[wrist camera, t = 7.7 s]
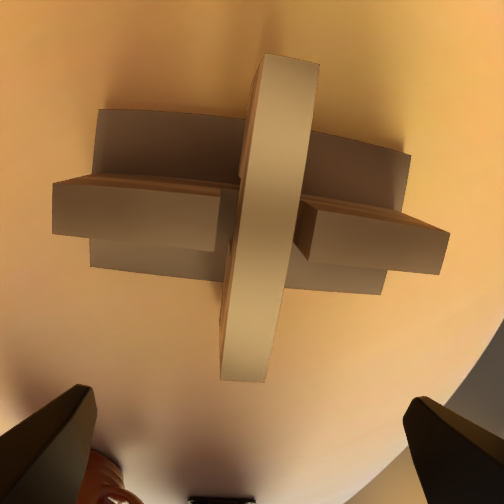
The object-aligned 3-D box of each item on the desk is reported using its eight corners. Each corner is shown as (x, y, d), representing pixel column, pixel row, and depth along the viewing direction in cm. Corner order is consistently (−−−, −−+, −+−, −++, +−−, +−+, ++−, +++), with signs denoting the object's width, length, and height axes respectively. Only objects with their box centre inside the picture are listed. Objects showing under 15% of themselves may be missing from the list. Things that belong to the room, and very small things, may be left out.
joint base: (374, 289, 18) (425, 339, 13) (95, 261, 16) (47, 309, 11) (403, 154, 16) (472, 162, 11) (104, 111, 14) (50, 95, 8)
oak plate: (252, 323, 17) (264, 382, 13) (219, 320, 17) (220, 380, 12) (289, 90, 14) (319, 64, 9) (251, 83, 14) (265, 53, 9)
